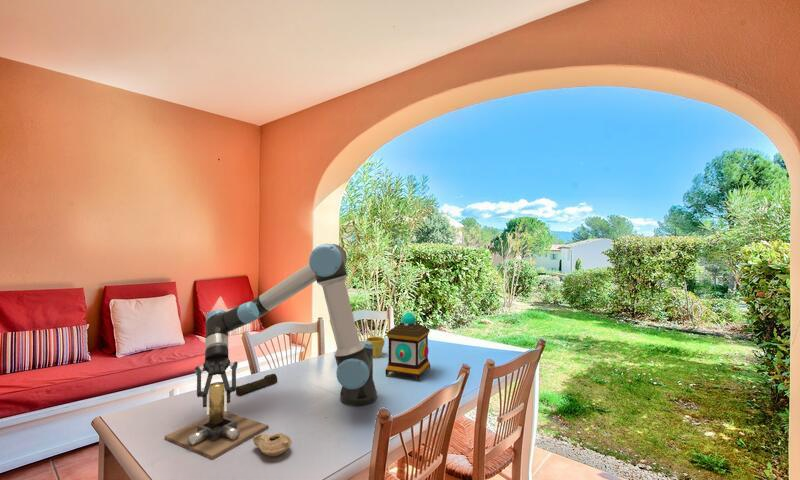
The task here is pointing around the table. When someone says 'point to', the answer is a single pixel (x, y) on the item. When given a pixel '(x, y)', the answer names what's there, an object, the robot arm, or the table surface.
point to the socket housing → (215, 431)
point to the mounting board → (221, 445)
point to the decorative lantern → (408, 347)
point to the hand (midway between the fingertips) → (216, 414)
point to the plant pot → (376, 345)
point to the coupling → (216, 402)
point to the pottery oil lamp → (272, 443)
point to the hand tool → (257, 384)
